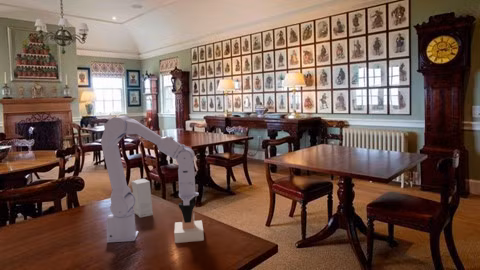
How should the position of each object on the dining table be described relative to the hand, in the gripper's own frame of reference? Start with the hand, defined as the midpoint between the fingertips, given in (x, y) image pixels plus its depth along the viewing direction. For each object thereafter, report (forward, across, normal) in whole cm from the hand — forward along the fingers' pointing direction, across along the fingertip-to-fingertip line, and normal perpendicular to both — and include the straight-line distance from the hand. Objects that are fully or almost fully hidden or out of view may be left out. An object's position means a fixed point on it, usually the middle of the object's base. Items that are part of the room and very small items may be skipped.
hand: (188, 218), depth 122 cm
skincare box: (+7, +26, +21) cm, 34 cm away
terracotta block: (+3, 0, 0) cm, 3 cm away
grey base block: (+7, 0, 0) cm, 7 cm away
